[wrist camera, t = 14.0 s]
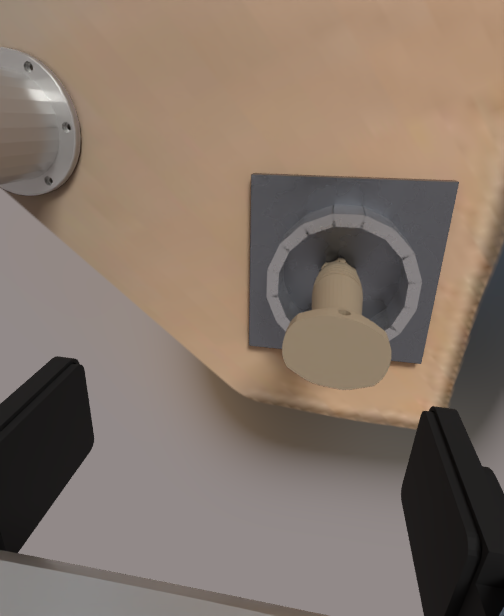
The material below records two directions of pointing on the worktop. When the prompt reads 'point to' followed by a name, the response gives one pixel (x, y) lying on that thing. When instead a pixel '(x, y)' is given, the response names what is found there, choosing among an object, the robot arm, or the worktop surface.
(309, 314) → the handle
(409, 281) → the duct collar
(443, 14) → the worktop surface
